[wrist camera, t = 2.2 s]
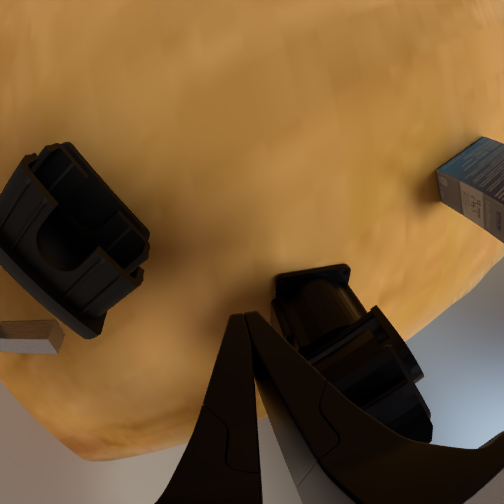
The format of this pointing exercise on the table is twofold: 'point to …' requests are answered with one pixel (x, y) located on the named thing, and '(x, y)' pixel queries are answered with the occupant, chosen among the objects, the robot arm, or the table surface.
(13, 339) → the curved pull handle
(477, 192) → the label tape box
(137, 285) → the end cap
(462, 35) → the table surface
